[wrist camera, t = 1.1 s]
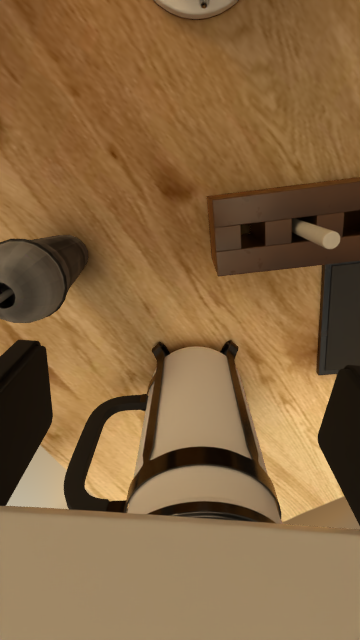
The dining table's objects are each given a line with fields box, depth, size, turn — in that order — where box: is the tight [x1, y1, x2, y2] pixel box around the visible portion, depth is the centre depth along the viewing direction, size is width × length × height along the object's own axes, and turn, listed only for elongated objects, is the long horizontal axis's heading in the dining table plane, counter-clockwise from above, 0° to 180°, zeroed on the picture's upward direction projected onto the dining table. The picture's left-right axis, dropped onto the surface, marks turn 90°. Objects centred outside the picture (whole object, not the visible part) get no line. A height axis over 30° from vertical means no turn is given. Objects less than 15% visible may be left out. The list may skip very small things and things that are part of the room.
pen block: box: [207, 177, 360, 276], centre depth 33 cm, size 7×16×8 cm, turn 97°
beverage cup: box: [0, 235, 88, 323], centre depth 29 cm, size 7×7×20 cm
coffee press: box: [64, 340, 283, 524], centre depth 31 cm, size 17×16×30 cm
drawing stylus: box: [291, 218, 340, 249], centre depth 30 cm, size 1×1×14 cm
